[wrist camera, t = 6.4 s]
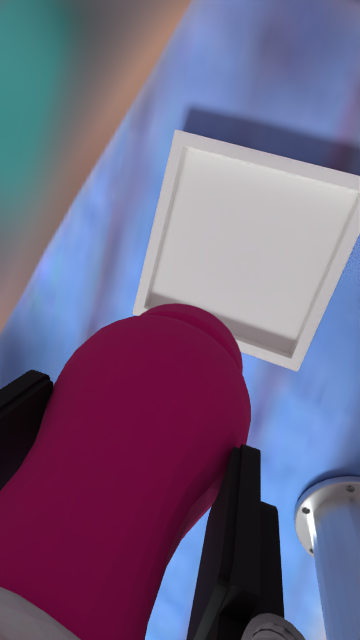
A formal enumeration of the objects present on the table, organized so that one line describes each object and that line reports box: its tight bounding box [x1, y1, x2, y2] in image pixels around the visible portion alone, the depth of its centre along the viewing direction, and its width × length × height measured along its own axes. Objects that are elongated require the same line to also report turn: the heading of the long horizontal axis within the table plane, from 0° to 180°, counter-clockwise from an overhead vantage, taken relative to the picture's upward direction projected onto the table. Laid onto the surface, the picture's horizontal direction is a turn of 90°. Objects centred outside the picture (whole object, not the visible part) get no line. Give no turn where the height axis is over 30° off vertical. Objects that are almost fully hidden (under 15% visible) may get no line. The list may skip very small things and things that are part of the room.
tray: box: [132, 129, 360, 372], centre depth 30 cm, size 17×17×2 cm
